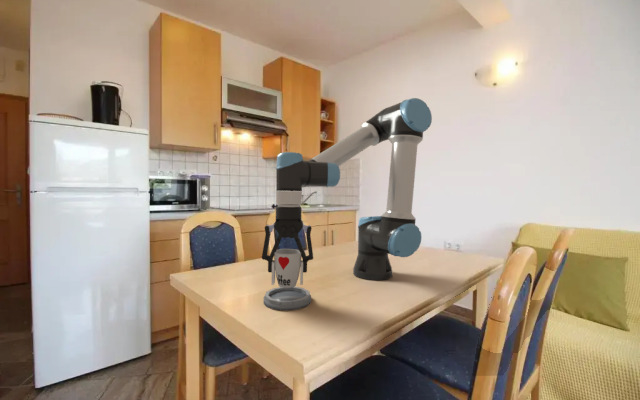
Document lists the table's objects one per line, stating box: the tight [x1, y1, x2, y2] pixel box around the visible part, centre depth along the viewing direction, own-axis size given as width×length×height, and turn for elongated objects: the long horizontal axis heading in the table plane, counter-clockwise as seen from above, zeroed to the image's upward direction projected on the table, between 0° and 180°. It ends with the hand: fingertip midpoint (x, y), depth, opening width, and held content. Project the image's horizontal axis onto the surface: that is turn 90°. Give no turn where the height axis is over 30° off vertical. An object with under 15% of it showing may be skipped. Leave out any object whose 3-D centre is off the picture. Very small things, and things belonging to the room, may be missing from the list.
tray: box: [263, 286, 312, 312], centre depth 87 cm, size 14×14×2 cm
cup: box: [273, 248, 302, 288], centre depth 86 cm, size 8×8×10 cm
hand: (287, 283), depth 86 cm, fingers closed on cup, 8 cm apart
